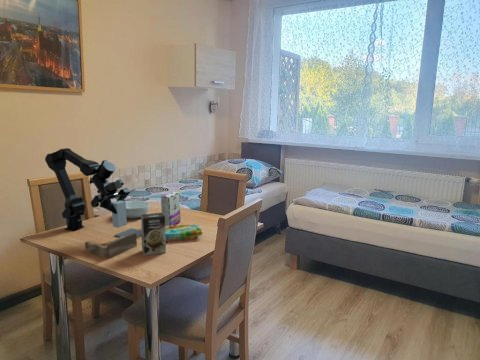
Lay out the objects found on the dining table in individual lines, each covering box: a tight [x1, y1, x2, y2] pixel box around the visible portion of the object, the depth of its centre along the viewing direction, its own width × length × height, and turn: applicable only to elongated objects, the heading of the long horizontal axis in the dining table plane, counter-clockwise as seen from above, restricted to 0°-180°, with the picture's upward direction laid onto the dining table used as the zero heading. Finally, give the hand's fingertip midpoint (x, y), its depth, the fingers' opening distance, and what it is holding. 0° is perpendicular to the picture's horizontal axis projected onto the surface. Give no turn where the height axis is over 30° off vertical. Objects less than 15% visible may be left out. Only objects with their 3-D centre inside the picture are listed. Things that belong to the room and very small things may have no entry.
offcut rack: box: [84, 233, 138, 259], centre depth 152 cm, size 14×15×6 cm
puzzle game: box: [165, 223, 203, 242], centre depth 168 cm, size 12×5×20 cm
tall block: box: [111, 200, 128, 228], centre depth 160 cm, size 4×5×11 cm
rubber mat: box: [114, 227, 142, 239], centre depth 170 cm, size 11×11×1 cm
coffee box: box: [140, 212, 167, 256], centre depth 149 cm, size 9×6×16 cm
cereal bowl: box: [126, 200, 150, 219], centre depth 197 cm, size 17×17×7 cm
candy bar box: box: [160, 191, 181, 226], centre depth 183 cm, size 11×5×16 cm, turn 162°
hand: (121, 212), depth 160 cm, fingers closed on tall block, 5 cm apart
